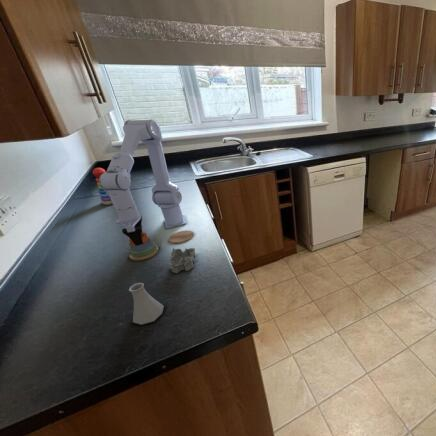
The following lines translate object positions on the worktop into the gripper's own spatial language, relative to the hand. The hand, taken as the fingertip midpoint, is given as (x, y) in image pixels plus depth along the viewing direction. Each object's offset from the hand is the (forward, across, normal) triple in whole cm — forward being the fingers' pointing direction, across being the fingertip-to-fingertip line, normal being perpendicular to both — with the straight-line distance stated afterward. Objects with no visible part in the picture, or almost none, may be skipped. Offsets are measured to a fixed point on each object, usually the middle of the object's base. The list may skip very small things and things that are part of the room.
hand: (139, 240), depth 97 cm
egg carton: (+6, +15, +12) cm, 20 cm away
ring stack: (+6, 0, 0) cm, 6 cm away
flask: (+6, +35, +1) cm, 35 cm away
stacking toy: (+6, -65, -15) cm, 67 cm away
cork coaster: (+6, -5, +13) cm, 15 cm away
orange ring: (0, 0, 0) cm, 0 cm away
